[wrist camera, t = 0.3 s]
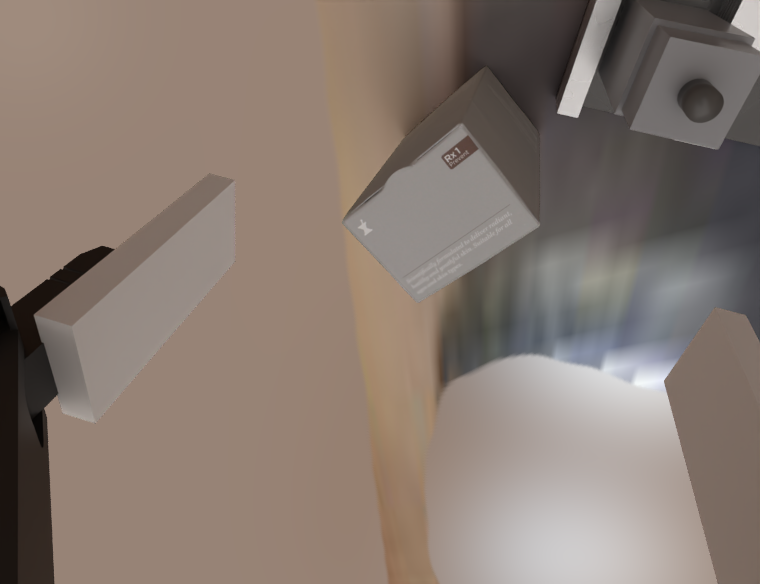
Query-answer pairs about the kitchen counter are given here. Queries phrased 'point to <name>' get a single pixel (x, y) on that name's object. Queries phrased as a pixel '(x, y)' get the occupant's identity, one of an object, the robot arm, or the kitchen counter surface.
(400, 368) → the kitchen counter surface
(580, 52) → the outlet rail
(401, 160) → the skincare box
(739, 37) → the twin plug
